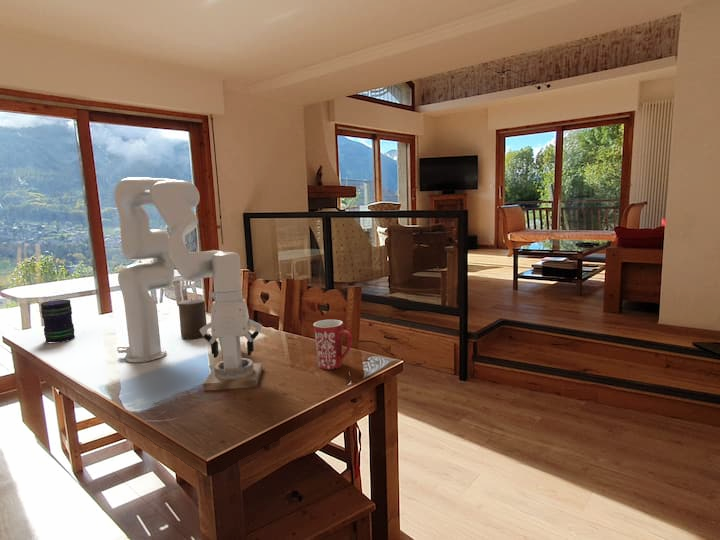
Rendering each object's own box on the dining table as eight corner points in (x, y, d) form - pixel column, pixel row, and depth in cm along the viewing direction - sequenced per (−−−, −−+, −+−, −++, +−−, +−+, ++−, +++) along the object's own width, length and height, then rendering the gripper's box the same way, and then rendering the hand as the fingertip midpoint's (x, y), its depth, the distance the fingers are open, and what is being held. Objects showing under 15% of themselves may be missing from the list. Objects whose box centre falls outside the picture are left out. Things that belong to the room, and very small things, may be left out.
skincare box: (227, 369, 133) (224, 329, 131) (242, 368, 134) (239, 328, 132) (223, 376, 127) (220, 335, 125) (239, 375, 128) (236, 334, 126)
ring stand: (204, 390, 123) (202, 374, 122) (215, 371, 137) (214, 357, 136) (256, 387, 124) (255, 371, 124) (262, 368, 138) (261, 354, 137)
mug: (309, 367, 138) (307, 324, 136) (327, 358, 145) (325, 317, 143) (342, 375, 131) (341, 330, 129) (360, 365, 138) (358, 322, 136)
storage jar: (56, 344, 171) (51, 305, 169) (39, 342, 175) (33, 304, 172) (81, 336, 180) (76, 300, 178) (64, 334, 184) (59, 298, 182)
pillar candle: (202, 339, 172) (199, 300, 170) (176, 339, 172) (173, 300, 170) (211, 332, 181) (208, 295, 179) (187, 332, 182) (184, 295, 180)
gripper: (193, 300, 123) (198, 361, 125) (258, 297, 124) (262, 357, 127) (200, 295, 130) (205, 352, 132) (261, 292, 131) (265, 349, 134)
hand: (233, 355), depth 130 cm, fingers open, 9 cm apart
